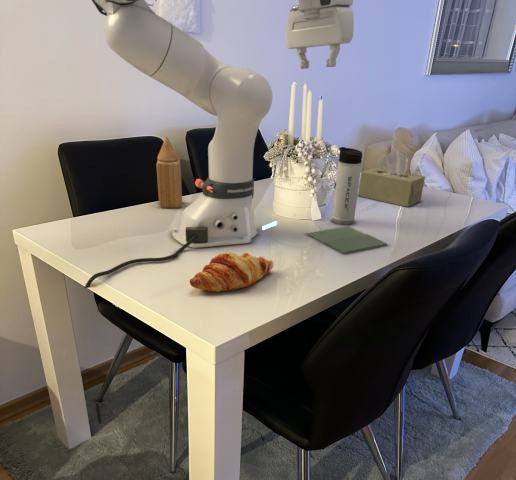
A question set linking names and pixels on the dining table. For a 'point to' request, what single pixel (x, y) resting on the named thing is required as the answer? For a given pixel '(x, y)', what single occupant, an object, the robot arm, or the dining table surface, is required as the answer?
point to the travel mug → (347, 185)
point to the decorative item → (169, 177)
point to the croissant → (231, 272)
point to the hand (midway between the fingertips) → (317, 67)
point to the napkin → (347, 240)
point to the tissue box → (391, 181)
